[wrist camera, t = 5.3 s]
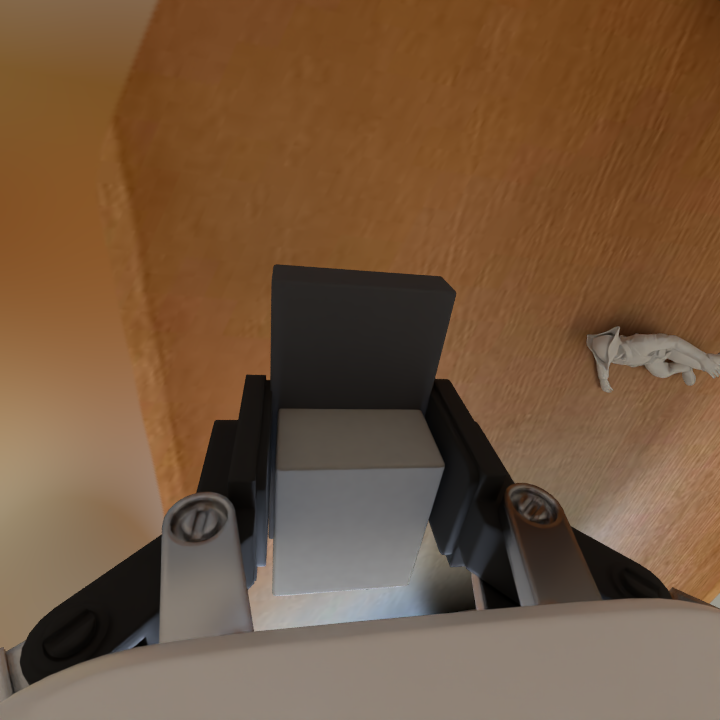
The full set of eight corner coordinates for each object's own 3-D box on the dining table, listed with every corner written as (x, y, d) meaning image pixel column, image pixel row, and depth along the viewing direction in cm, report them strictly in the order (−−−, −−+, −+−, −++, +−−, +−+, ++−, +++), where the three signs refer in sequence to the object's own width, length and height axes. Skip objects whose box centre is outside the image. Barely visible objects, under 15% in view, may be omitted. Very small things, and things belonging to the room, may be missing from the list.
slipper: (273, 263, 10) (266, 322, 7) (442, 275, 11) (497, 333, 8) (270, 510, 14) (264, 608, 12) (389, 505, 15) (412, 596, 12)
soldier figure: (649, 391, 35) (561, 409, 30) (633, 338, 36) (545, 346, 31) (766, 373, 29) (682, 392, 23) (743, 309, 30) (656, 311, 24)
